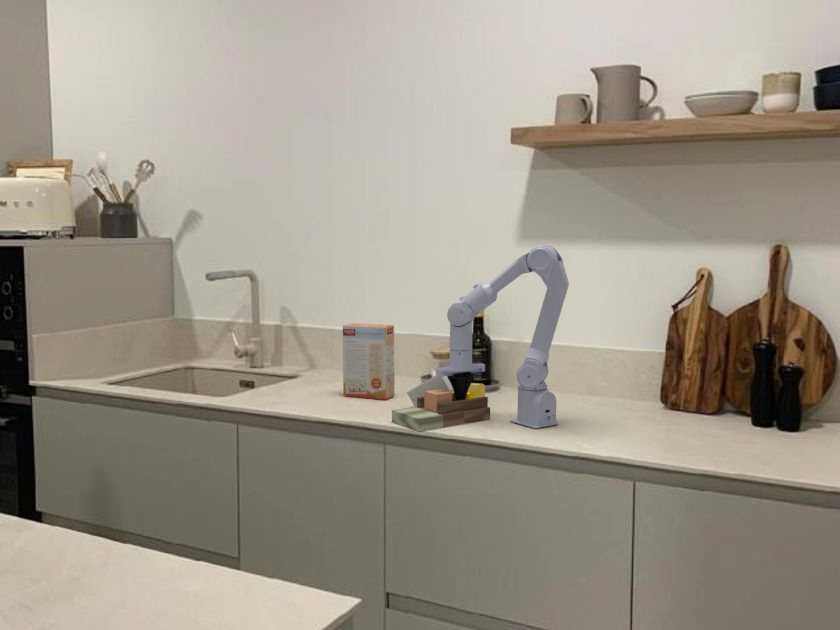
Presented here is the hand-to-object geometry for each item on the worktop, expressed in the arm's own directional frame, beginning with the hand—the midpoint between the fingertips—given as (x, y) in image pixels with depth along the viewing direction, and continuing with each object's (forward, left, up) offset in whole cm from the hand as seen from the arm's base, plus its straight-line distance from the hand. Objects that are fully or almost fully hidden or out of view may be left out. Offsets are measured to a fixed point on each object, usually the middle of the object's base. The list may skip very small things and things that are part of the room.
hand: (460, 402), depth 214 cm
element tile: (+18, -12, -5) cm, 22 cm away
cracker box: (+36, +5, -4) cm, 37 cm away
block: (0, +7, -1) cm, 7 cm away
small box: (+15, +4, -2) cm, 15 cm away
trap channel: (0, +7, -4) cm, 8 cm away
